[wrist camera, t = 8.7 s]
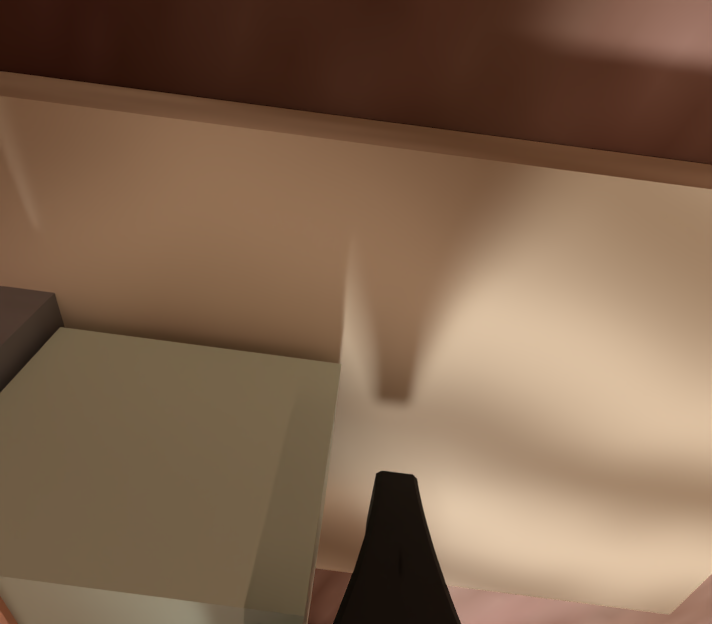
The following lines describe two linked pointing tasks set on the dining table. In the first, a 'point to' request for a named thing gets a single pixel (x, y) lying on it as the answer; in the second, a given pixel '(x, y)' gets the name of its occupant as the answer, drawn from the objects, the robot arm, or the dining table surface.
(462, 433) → the stud board
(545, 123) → the dining table surface
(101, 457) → the pale green cube
